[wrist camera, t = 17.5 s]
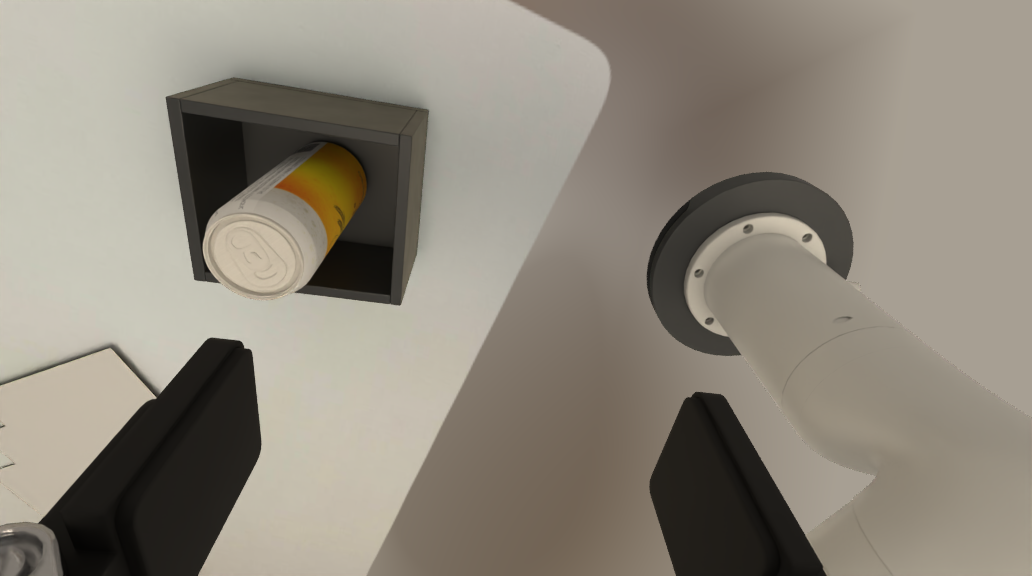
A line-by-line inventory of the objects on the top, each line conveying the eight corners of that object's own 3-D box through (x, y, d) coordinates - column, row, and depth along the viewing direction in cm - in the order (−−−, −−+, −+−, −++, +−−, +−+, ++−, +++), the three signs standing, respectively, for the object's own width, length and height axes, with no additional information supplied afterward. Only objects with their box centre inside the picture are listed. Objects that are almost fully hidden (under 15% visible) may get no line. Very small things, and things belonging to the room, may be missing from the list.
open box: (428, 109, 40) (412, 136, 32) (416, 253, 46) (400, 305, 38) (233, 77, 38) (164, 96, 30) (247, 231, 44) (194, 280, 36)
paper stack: (253, 494, 60) (251, 499, 60) (78, 544, 63) (74, 549, 63) (115, 343, 49) (110, 348, 48) (-88, 413, 52) (-95, 418, 52)
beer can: (319, 223, 43) (242, 320, 30) (276, 157, 40) (169, 232, 27) (382, 196, 42) (331, 283, 29) (342, 126, 39) (265, 189, 26)
